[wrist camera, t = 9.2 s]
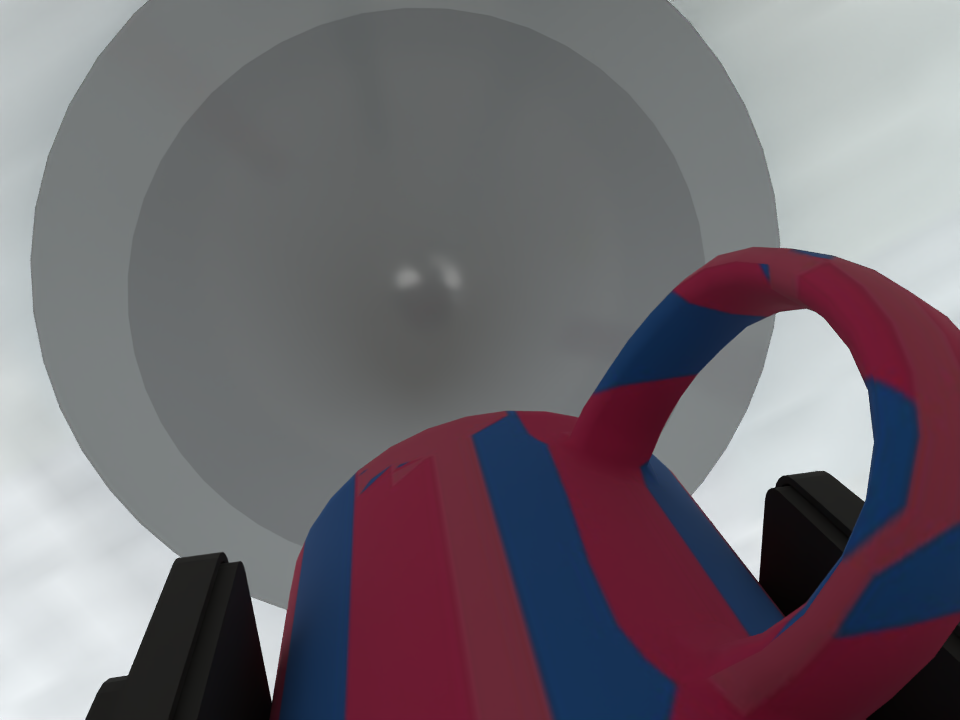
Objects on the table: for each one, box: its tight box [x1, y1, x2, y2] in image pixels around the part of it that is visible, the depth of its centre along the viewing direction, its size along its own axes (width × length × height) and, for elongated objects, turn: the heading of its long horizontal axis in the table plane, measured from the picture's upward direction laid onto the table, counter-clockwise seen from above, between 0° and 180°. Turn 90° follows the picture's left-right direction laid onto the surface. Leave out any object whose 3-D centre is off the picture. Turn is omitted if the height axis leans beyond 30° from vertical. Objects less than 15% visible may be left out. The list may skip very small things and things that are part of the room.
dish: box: [31, 0, 780, 610], centre depth 23 cm, size 22×22×1 cm
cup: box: [269, 247, 960, 720], centre depth 8 cm, size 7×10×7 cm
